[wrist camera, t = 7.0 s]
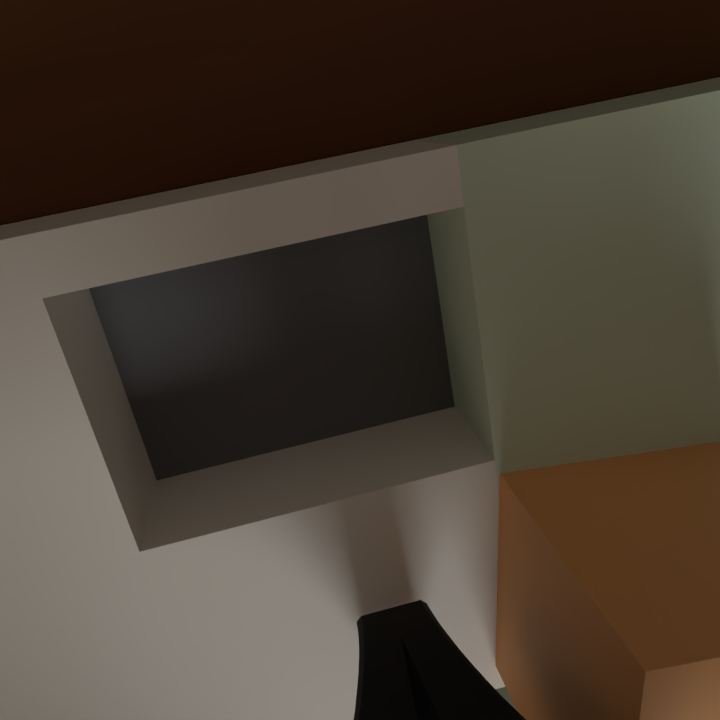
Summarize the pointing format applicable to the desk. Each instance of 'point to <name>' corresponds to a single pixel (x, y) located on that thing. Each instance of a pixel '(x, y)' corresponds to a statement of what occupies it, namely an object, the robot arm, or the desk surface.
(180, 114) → the desk surface
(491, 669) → the box
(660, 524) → the orange block
